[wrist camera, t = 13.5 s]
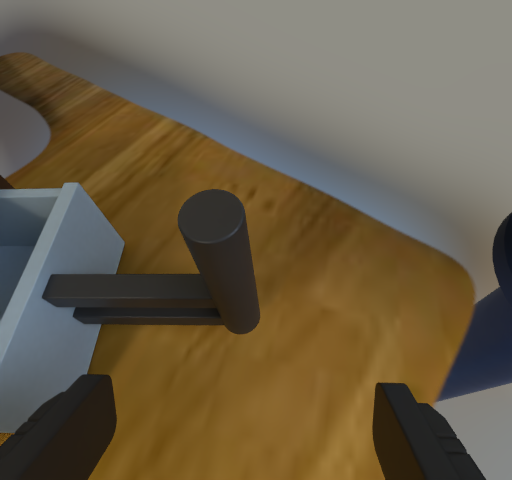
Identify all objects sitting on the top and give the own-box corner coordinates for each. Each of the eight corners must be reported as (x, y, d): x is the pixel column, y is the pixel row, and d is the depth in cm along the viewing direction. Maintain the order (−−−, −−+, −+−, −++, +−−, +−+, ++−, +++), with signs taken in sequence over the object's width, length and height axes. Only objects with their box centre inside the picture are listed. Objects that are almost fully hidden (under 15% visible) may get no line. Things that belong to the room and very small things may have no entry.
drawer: (263, 241, 21) (251, 96, 12) (259, 440, 15) (231, 439, 6) (-64, 244, 23) (-283, 117, 14) (-183, 426, 17) (-702, 409, 8)
